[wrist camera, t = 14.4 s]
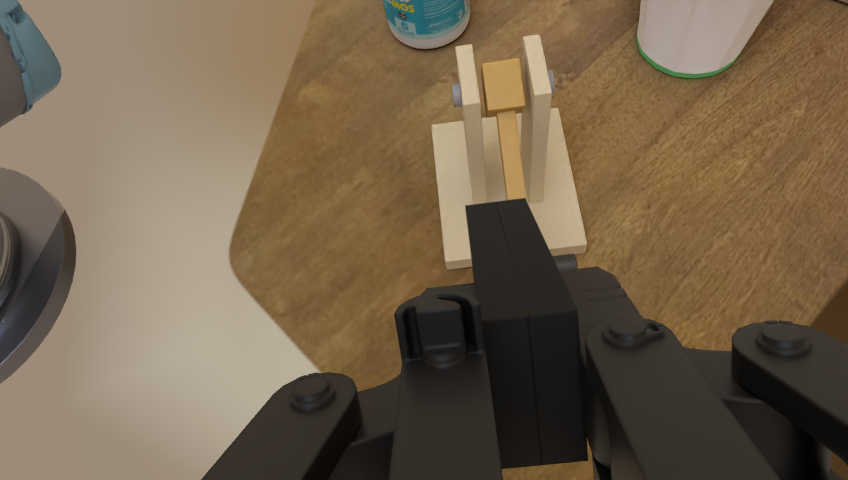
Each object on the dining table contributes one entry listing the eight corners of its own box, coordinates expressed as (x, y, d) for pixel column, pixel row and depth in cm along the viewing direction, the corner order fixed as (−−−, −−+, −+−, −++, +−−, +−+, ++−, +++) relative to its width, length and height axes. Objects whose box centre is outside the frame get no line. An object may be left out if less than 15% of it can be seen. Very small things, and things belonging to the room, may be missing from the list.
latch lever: (573, 275, 40) (580, 278, 37) (476, 287, 40) (476, 291, 38) (547, 63, 40) (552, 52, 37) (450, 77, 40) (449, 67, 38)
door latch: (585, 253, 46) (612, 142, 34) (446, 270, 47) (423, 167, 35) (557, 118, 52) (571, -19, 39) (433, 135, 52) (409, 5, 40)
